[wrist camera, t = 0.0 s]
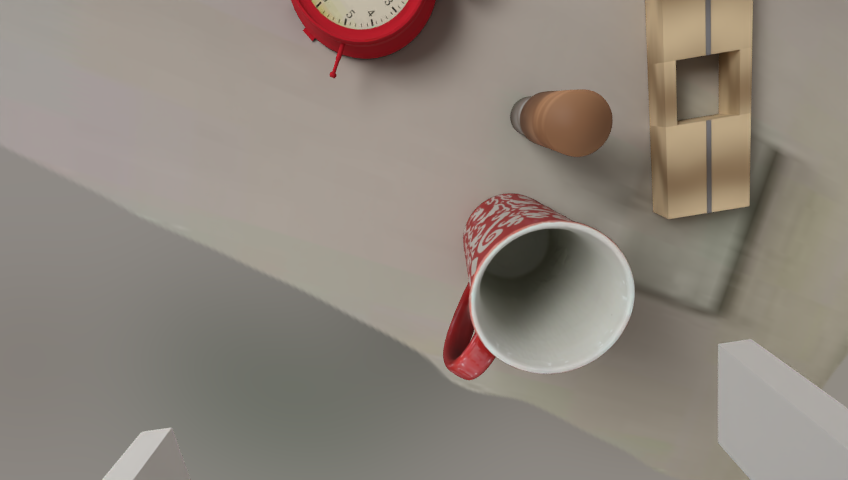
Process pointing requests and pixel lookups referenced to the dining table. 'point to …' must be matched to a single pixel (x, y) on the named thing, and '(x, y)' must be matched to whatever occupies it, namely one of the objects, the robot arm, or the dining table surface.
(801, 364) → the dining table surface
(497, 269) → the mug
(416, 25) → the alarm clock
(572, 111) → the wooden tool handle
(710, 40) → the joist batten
